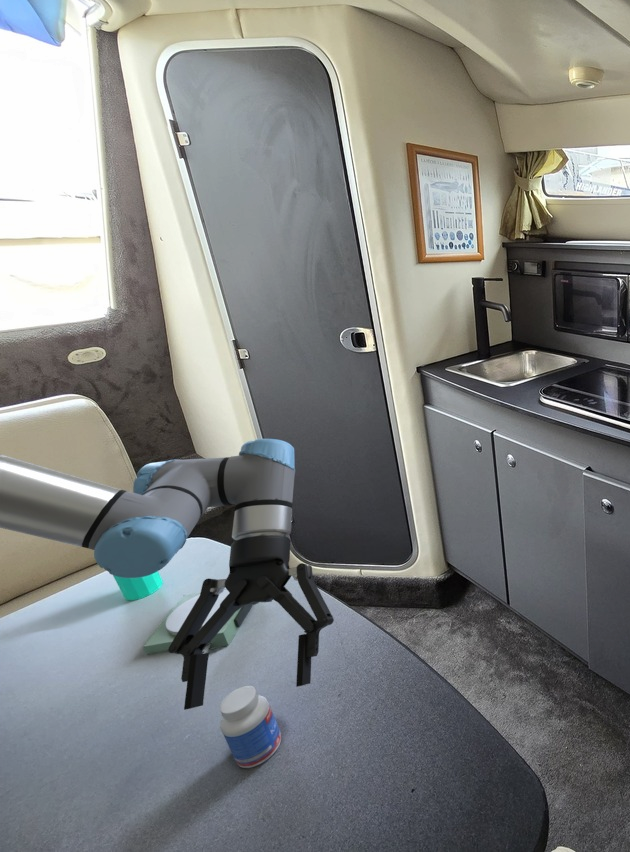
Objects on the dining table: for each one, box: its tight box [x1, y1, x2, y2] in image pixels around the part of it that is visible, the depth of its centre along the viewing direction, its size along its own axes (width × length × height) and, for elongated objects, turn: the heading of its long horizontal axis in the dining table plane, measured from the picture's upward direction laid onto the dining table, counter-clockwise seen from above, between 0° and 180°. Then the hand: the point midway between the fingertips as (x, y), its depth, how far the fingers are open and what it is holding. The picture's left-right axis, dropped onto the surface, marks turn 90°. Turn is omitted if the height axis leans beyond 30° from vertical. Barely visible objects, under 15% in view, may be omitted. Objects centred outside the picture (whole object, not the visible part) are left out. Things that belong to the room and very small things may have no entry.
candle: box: [112, 571, 164, 601], centre depth 97 cm, size 6×6×12 cm
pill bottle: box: [219, 685, 282, 769], centre depth 67 cm, size 6×5×10 cm
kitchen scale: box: [143, 588, 253, 655], centre depth 89 cm, size 12×12×4 cm
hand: (249, 696), depth 67 cm, fingers open, 13 cm apart
